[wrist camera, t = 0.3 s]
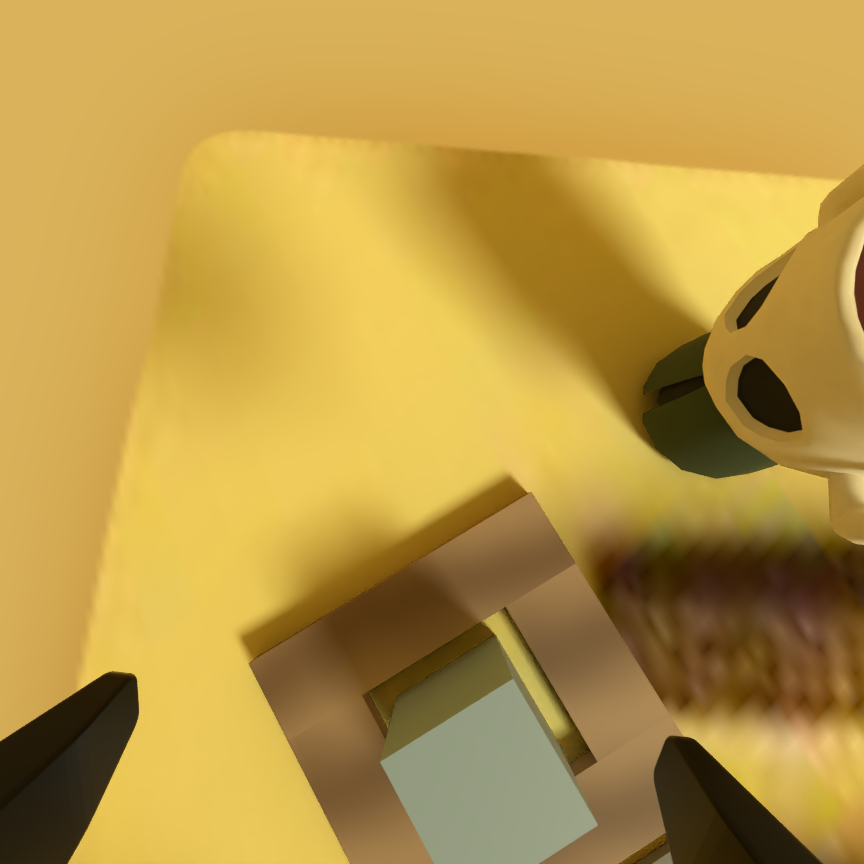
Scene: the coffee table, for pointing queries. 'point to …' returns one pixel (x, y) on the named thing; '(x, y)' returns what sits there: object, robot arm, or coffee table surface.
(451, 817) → the slate block
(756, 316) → the character mug
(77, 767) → the robot arm
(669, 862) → the rubber mat
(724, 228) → the coffee table surface
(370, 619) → the walnut pocket plate
